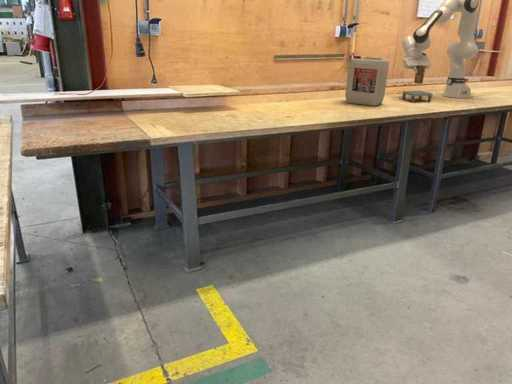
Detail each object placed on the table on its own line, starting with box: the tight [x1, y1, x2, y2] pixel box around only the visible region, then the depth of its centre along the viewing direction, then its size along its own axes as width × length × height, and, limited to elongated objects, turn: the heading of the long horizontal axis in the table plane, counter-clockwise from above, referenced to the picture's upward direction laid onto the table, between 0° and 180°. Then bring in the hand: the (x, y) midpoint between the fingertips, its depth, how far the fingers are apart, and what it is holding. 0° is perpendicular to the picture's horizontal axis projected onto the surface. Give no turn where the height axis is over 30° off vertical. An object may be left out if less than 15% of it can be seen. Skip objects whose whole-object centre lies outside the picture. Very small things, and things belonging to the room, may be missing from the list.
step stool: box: [401, 90, 434, 104], centre depth 295 cm, size 16×12×6 cm
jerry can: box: [344, 55, 390, 107], centre depth 276 cm, size 24×19×30 cm
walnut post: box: [413, 65, 426, 85], centre depth 291 cm, size 4×4×12 cm
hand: (420, 72), depth 290 cm, fingers closed on walnut post, 4 cm apart
